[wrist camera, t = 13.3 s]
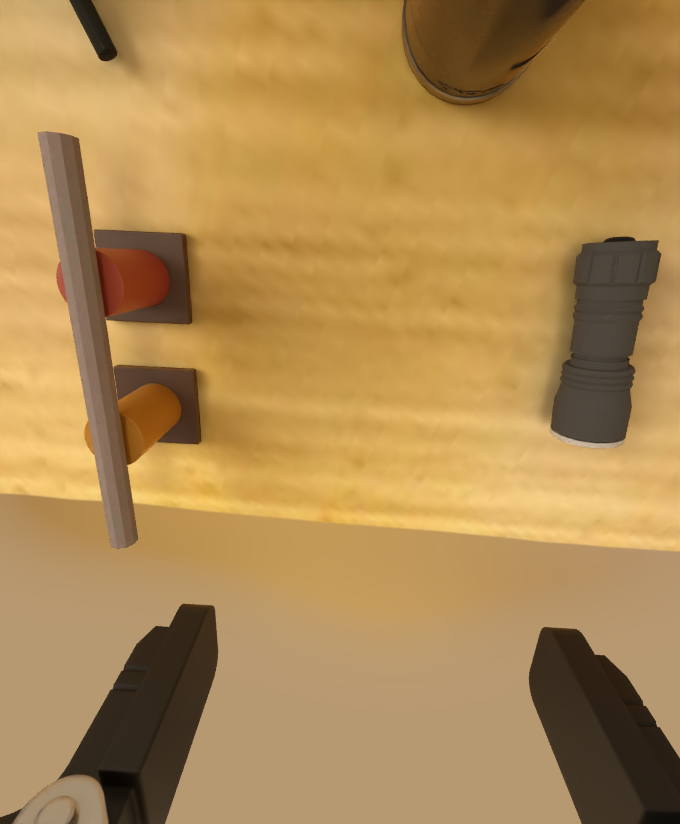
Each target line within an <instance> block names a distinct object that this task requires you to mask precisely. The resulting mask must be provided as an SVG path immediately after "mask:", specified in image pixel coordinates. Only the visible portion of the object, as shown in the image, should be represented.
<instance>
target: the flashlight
mask: <svg viewBox="0 0 680 824" xmlns="http://www.w3.org/2000/svg"><path fill="white" fill-rule="evenodd" d="M657 246H658V240H657V241H636V240H635V239H634V238H632V237H613V238H609V239H607V240H605V241H604V242H603V243H588V244H583V246H582V253H580V254H579V255H578V256H577V258H576V265H575V272H574V279H573V282H574V283H575V284H576V285H577V287H576V294H575V299H578V300H577V304H576V305H575V306H574V308H575V310H576V311H575V312H574V314H573V317H574V319H575V320H574V326H573V333H572V340H571V347H570V351H571V352H573V354H571V358H570V360H567V361H566V362H564V363H563V365H562V367H563V370H562V371H561V373H562V376H561V381H562V382H561V385H560V387H559V389H558V392H557V394H556V396H555V399H554V406H553V414H552V421H551V427H550V433H551V434H552V435H553V436H554V437H556V438H557V439H559V440H561V441H563V442H566V443H569V444H572V445H577V446H582V447H588V448H615V447H619V446H621V445H623V444H624V441H625V437H626V432H627V427H628V422H629V417H630V413H631V408H632V406H631V396H630V388H631V387H632V385H633V383H632V381H633V379H634V376H633V374H634V373H635V368H634V367H633V366H632V365H630V364H629V360H630V359H629V358H628V356H631V355H632V354H633V350H634V345H635V340H636V335H637V330H638V325H639V321H640V320H641V319H642V317H643V315H642V313H641V312H642V311H643V310H644V307H643V300H646V299H647V296H648V291H649V286H650V284H652V283H654V282H655V281H656V277H657V272H658V267H659V262H660V257H661V253H660V252H659V251H658V250H657Z"/></svg>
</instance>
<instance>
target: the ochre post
mask: <svg viewBox="0 0 680 824" xmlns="http://www.w3.org/2000/svg"><path fill="white" fill-rule="evenodd" d="M114 375H115V382H116V389H117V396H118V406H119V413H120V420H121V427H122V433H123V440H124V447H125V454H126V460H127V465H129V464H131V463H133V462H135V461H136V460H138V459H139V458H140V457H141V456H142V455H143V454H144V453H145V452H146V451H147V450H148V449H149V448H151V447H152V446H153V445H154V444H155V443H156V442H164V443H183V444H199V443H200V442H201V432H200V419H199V406H198V392H197V379H196V369H185V368H166V367H147V366H127V365H117V366H115V367H114ZM85 440H86V443H87V446H88V447H89V449H90V450H91V452H92V453H93V454H94V449H93V443H92V438H91V432H90V426H89V421H88V422H87V424H86V427H85Z"/></svg>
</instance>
